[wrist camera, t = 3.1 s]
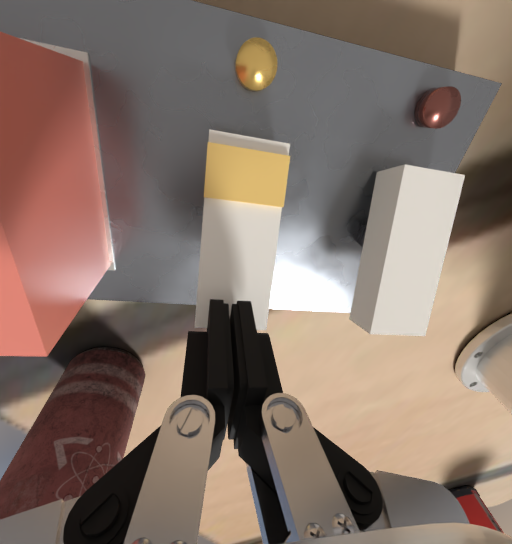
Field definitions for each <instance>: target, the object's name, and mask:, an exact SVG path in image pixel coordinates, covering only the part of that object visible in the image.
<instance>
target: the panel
mask: <svg viewBox="0 0 512 544" xmlns="http://www.w3.org/2000/svg"><path fill="white" fill-rule="evenodd" d="M0 32H3V33H6V34H9V35H11V36H14V37H17V38H20V39H22V40H25V41H28V42H31V43H33V44H36V45H39V46H42V47H45V48H47V49H50V50H53V51H56V52H58V53H61V54H64V55H67V56H69V57H72V58H75V59H78V60H80V61H83V67H84V74H85V82H86V89H87V97H88V104H89V112H90V119H91V126H92V134H93V141H94V149H95V156H96V164H97V171H98V179H99V186H100V194H101V201H102V209H103V216H104V223H105V231H106V238H107V246H108V253H109V261H110V267H109V268H108V270H107V271H106V272H105V274H104V275H103V277H102V278H101V280H100V281H99V283H98V284H97V285H96V287H95V288H94V290H93V291H92V293H91V294H90V296H89V297H88V298H87V299H95V300H114V301H133V302H152V303H171V304H190V305H196V303H197V289H198V276H199V262H200V249H201V235H202V222H203V208H204V186H205V172H206V159H207V145H208V141H209V129H210V130H216V131H221V132H227V133H232V134H238V135H244V136H249V137H255V138H260V139H266V140H272V141H277V142H283V143H288V144H290V148H289V156H290V163H289V170H288V178H287V186H286V193H285V201H284V207H282V211H281V219H280V227H279V234H278V242H277V250H276V258H275V266H274V273H273V281H272V289H271V297H270V305H269V309H286V310H305V311H324V312H343V313H350V312H351V307H352V302H353V296H354V291H355V286H356V280H357V275H358V270H359V264H360V259H361V254H362V249H363V243H364V238H365V233H366V227H367V222H368V217H369V211H370V206H371V201H372V195H373V190H374V185H375V179H376V174H377V172H379V171H382V170H386V169H390V168H393V167H397V166H401V165H404V164H406V165H411V166H417V167H423V168H428V169H434V170H439V171H445V172H451V173H455V172H456V170H457V168H458V166H459V164H460V162H461V160H462V158H463V156H464V155H465V153H466V151H467V149H468V147H469V145H470V143H471V141H472V139H473V137H474V136H475V134H476V132H477V130H478V128H479V126H480V124H481V122H482V120H483V118H484V117H485V115H486V113H487V111H488V109H489V107H490V105H491V103H492V101H493V99H494V97H495V96H496V94H497V92H498V90H499V88H500V86H501V84H502V83H498V82H494V81H491V80H487V79H483V78H479V77H476V76H472V75H468V74H464V73H461V72H457V71H453V70H450V69H446V68H442V67H438V66H435V65H431V64H427V63H423V62H420V61H416V60H412V59H409V58H405V57H401V56H397V55H394V54H390V53H386V52H382V51H379V50H375V49H371V48H367V47H364V46H360V45H356V44H353V43H349V42H345V41H341V40H338V39H334V38H330V37H326V36H323V35H319V34H315V33H312V32H308V31H304V30H300V29H297V28H293V27H289V26H285V25H282V24H278V23H274V22H271V21H267V20H263V19H259V18H256V17H252V16H248V15H244V14H241V13H237V12H233V11H229V10H226V9H222V8H218V7H215V6H211V5H207V4H203V3H200V2H196V1H192V0H0Z"/></svg>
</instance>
